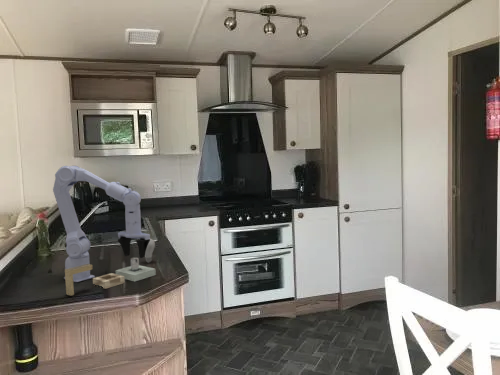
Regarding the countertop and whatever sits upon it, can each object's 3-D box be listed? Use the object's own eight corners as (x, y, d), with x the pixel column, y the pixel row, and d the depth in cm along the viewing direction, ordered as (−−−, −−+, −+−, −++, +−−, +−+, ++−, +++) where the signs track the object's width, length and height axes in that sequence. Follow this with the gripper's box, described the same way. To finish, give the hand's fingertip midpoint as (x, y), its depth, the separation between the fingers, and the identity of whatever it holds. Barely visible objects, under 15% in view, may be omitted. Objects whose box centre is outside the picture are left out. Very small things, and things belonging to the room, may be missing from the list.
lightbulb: (141, 265, 172) (140, 240, 171) (141, 261, 178) (140, 237, 177) (156, 263, 174) (155, 239, 173) (155, 260, 180) (154, 236, 179)
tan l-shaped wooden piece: (66, 294, 135) (64, 269, 134) (89, 287, 141) (87, 263, 141) (70, 295, 133) (69, 270, 132) (93, 288, 140) (92, 264, 139)
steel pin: (129, 276, 155) (129, 259, 154) (135, 274, 158) (134, 257, 157) (135, 277, 154) (134, 259, 153) (141, 275, 156) (140, 257, 156)
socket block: (93, 285, 145) (92, 278, 145) (112, 279, 152) (111, 273, 152) (105, 288, 141) (105, 281, 140) (124, 282, 147) (124, 276, 147)
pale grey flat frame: (115, 276, 155) (115, 270, 155) (136, 270, 163) (136, 264, 163) (134, 281, 148) (134, 275, 148) (155, 275, 156) (155, 268, 156)
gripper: (111, 222, 154) (113, 257, 155) (140, 224, 148) (142, 260, 148) (124, 220, 160) (126, 253, 161) (153, 222, 154) (154, 256, 155)
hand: (134, 256), depth 155 cm, fingers open, 7 cm apart
